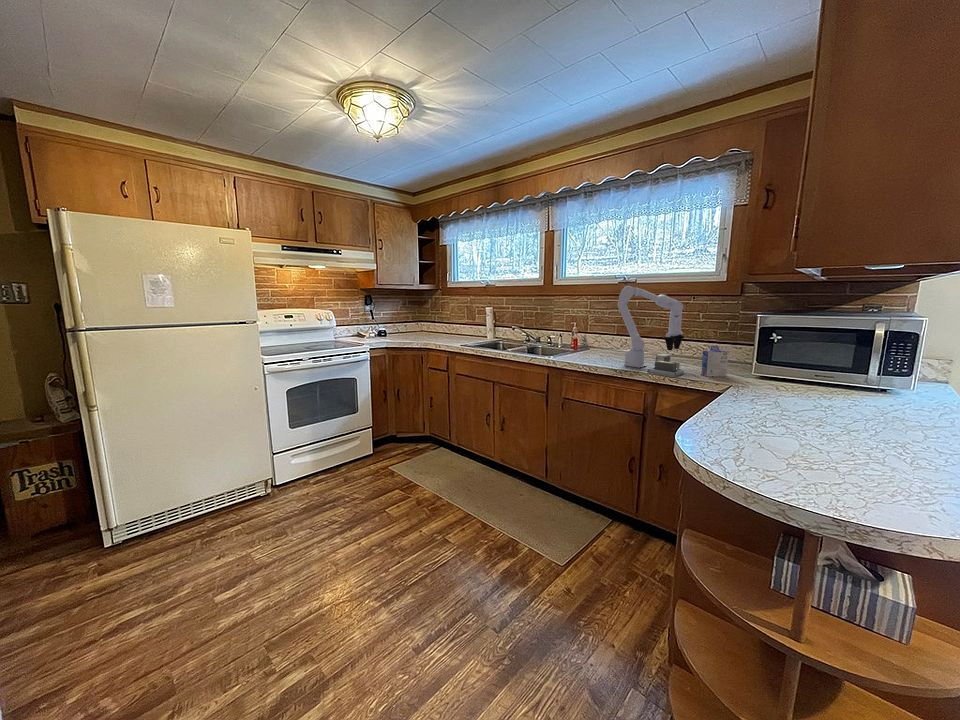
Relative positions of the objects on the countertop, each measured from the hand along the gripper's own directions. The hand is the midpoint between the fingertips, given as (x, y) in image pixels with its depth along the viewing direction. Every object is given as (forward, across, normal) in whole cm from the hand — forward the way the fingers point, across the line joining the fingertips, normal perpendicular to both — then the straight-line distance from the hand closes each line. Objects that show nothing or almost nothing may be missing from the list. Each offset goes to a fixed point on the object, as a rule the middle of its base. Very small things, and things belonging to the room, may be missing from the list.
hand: (673, 349), depth 206 cm
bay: (+10, -4, 0) cm, 11 cm away
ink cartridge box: (+10, -4, -22) cm, 25 cm away
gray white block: (+9, -16, -4) cm, 19 cm away
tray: (+10, -16, -4) cm, 19 cm away
